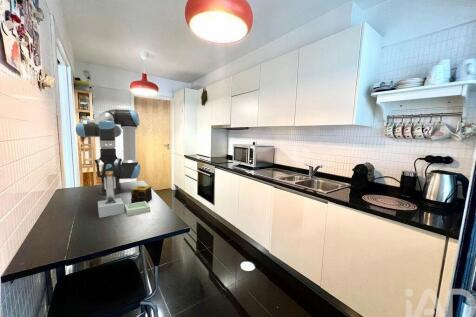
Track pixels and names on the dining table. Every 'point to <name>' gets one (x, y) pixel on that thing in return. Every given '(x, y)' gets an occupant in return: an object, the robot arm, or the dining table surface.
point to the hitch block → (110, 208)
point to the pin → (110, 186)
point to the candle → (141, 194)
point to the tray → (136, 208)
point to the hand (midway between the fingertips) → (110, 187)
